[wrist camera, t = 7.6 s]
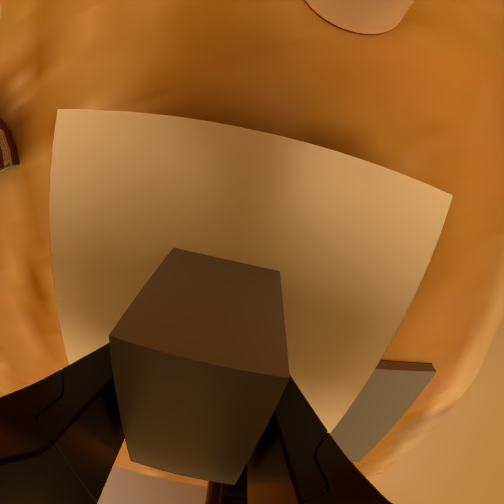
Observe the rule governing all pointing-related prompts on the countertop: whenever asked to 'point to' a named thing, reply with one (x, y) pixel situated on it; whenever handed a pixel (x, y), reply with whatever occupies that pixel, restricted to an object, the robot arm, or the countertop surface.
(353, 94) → the countertop surface
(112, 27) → the countertop surface
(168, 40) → the countertop surface
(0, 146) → the food container
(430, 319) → the countertop surface
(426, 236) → the lid
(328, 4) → the cosmetic bottle
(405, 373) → the mat
